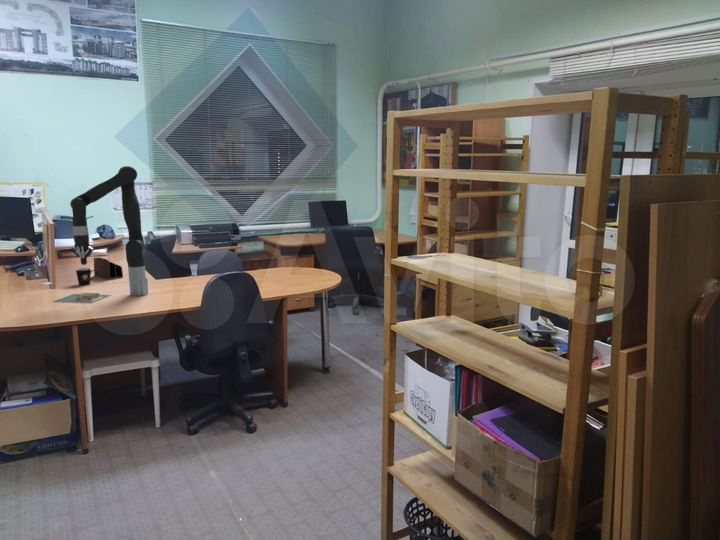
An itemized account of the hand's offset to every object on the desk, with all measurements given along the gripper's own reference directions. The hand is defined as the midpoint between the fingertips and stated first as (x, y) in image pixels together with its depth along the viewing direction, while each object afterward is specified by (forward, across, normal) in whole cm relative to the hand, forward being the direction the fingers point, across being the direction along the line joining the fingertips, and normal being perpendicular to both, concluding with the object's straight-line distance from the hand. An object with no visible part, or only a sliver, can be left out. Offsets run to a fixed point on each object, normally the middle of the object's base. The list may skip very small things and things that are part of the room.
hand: (84, 264), depth 302 cm
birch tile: (+18, +4, 0) cm, 19 cm away
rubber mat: (+21, +3, 0) cm, 21 cm away
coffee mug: (+21, +27, -40) cm, 53 cm away
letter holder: (+21, +27, -64) cm, 73 cm away
